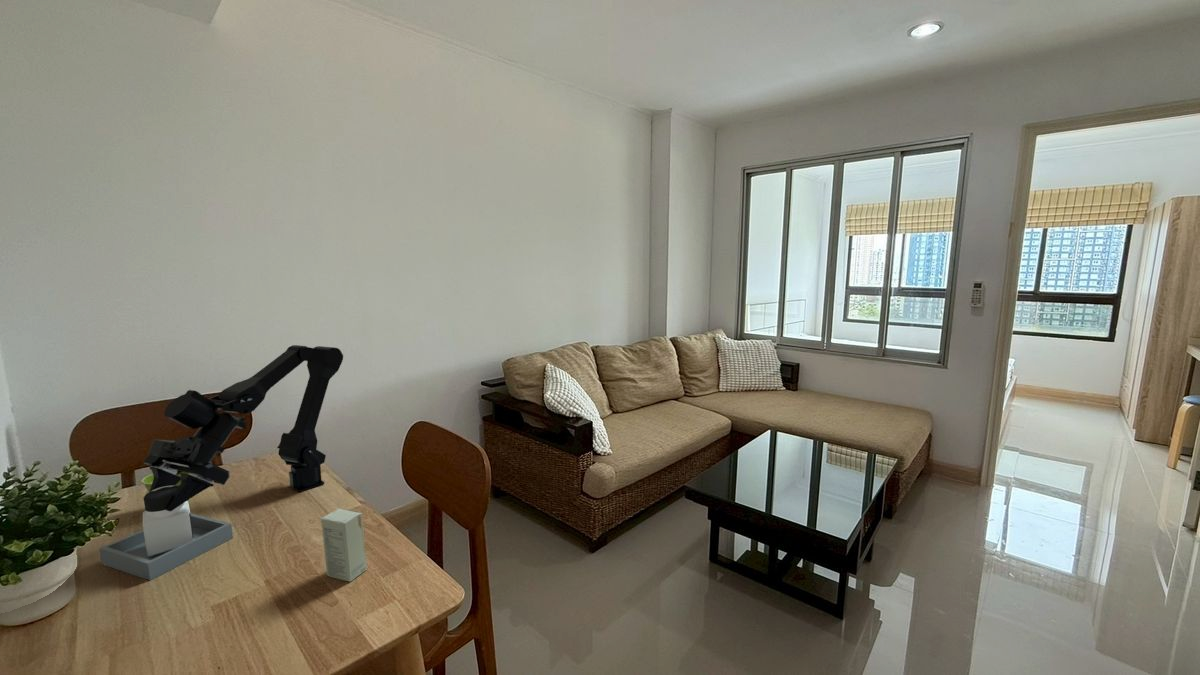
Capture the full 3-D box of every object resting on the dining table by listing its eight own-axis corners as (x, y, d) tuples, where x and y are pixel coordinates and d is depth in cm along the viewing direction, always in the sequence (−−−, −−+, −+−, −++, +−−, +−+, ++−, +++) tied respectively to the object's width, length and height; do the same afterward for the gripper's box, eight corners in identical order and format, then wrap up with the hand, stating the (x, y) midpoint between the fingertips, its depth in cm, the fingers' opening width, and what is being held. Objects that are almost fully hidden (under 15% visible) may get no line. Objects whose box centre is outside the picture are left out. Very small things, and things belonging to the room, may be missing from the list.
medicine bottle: (194, 543, 98) (187, 490, 96) (147, 557, 93) (138, 502, 91) (191, 529, 103) (184, 478, 101) (147, 542, 98) (139, 489, 96)
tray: (187, 525, 108) (185, 511, 107) (232, 538, 103) (231, 523, 102) (101, 564, 93) (99, 548, 93) (150, 580, 89) (147, 563, 88)
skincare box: (368, 569, 93) (364, 512, 91) (350, 583, 89) (345, 523, 87) (343, 562, 95) (339, 506, 93) (324, 575, 91) (320, 517, 89)
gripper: (148, 417, 101) (88, 487, 92) (207, 427, 95) (149, 503, 86) (193, 439, 109) (142, 505, 101) (250, 449, 104) (201, 520, 95)
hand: (157, 508), depth 96 cm, fingers closed on medicine bottle, 6 cm apart
